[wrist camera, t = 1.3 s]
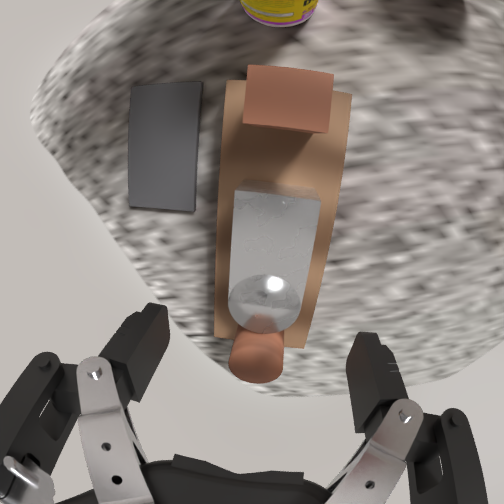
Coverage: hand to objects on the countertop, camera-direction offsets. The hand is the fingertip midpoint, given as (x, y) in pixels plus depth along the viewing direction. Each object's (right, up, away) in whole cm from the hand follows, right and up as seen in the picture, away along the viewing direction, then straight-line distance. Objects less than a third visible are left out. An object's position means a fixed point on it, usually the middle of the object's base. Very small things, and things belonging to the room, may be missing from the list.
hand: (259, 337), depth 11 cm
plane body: (+2, +7, +14) cm, 16 cm away
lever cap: (+1, +4, +11) cm, 12 cm away
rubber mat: (-9, +13, +12) cm, 20 cm away
